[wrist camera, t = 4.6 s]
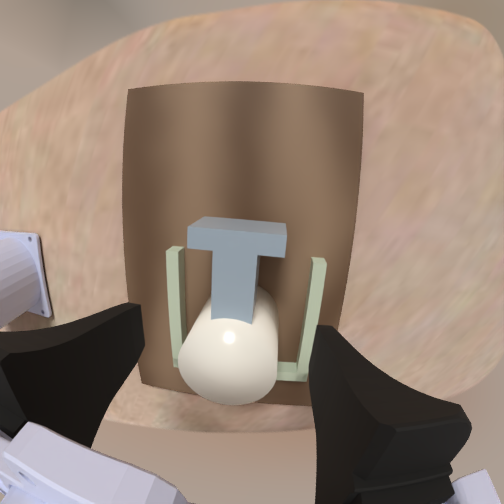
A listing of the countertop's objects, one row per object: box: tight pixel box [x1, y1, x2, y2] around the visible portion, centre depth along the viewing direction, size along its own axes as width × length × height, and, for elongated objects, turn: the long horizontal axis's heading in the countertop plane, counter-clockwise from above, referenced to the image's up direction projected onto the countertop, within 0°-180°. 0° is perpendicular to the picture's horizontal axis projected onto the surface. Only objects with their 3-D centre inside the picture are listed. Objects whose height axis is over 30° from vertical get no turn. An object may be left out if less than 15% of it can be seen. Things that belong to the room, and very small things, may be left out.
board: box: [122, 81, 364, 406], centre depth 19 cm, size 15×23×1 cm, turn 177°
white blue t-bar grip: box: [178, 216, 287, 405], centre depth 16 cm, size 9×5×6 cm, turn 176°
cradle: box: [166, 246, 327, 382], centre depth 19 cm, size 10×9×1 cm
